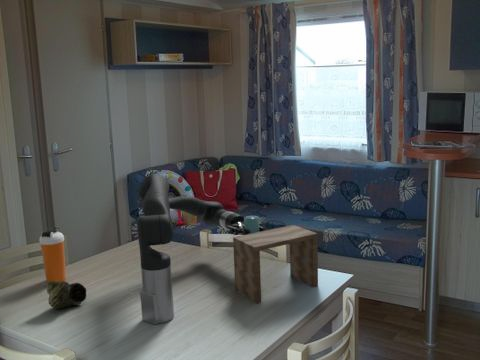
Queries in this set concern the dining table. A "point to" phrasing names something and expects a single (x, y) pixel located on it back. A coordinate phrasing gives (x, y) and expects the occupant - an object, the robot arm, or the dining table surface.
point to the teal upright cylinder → (252, 224)
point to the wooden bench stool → (251, 244)
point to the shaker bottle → (53, 254)
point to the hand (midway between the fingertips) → (255, 232)
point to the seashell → (65, 294)
